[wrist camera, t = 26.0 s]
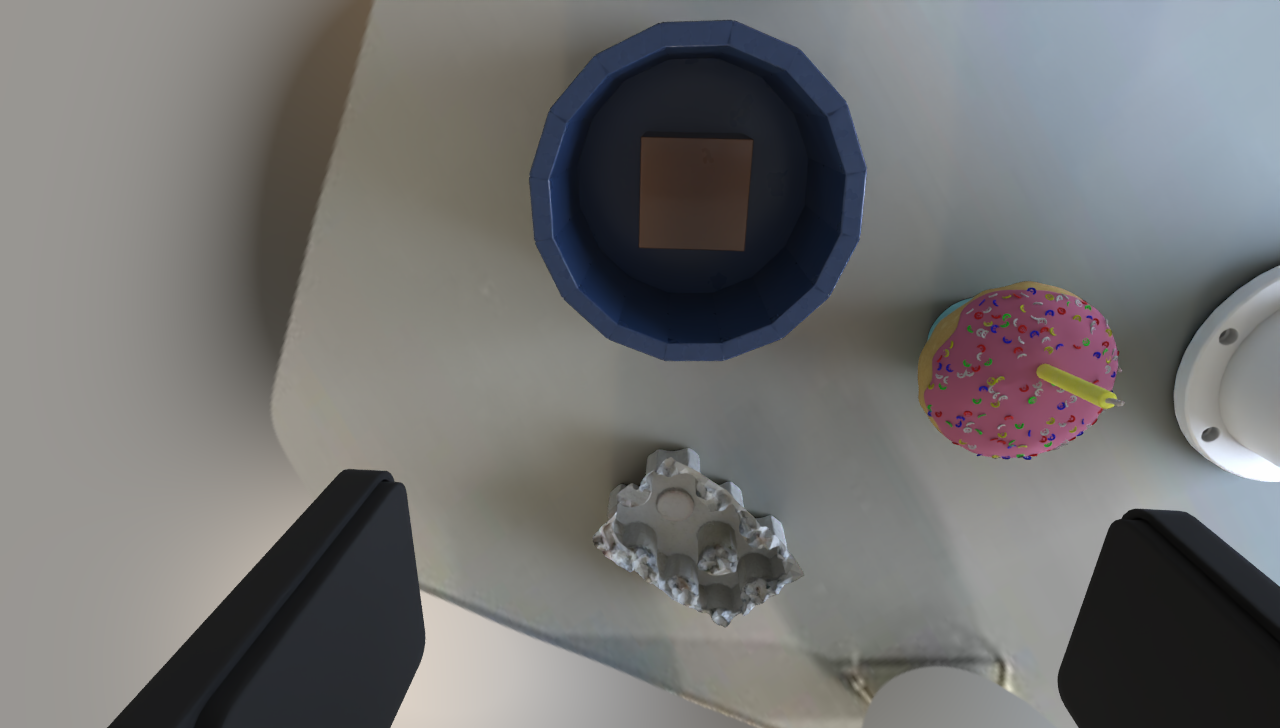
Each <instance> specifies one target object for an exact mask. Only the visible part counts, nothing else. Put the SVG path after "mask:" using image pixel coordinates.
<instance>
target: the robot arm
mask: <svg viewBox="0 0 1280 728" xmlns="http://www.w3.org/2000/svg"><path fill="white" fill-rule="evenodd" d="M1174 406H1175V415H1176V417H1177V420H1178V423H1179V426H1180V429H1181V431H1182V433H1183V434H1184V436H1185V437H1186V439H1187V440H1188V442H1189V443H1190V445H1191V446H1192V447H1193V448H1194V449H1196V450H1197V451H1198V452H1199V453H1200V454H1201V455H1202V456H1204V457H1205V458H1206V459H1208V460H1209V461H1211V462H1212V463H1214V464H1216V465H1217V466H1219V467H1220V468H1222V469H1223V470H1225V471H1228V472H1230V473H1233V474H1235V475H1238V476H1240V477H1243V478H1248V479H1253V480H1258V481H1263V482H1280V265H1279V266H1277V267H1275V268H1273V269H1271V270H1269V271H1267V272H1265V273H1263V274H1261V275H1259V276H1257V277H1256V278H1254V279H1253V280H1251V281H1250V282H1248V283H1247V284H1246V285H1244V286H1243V287H1241V288H1240V289H1238V290H1237V291H1235V292H1234V293H1233V294H1232V295H1231V296H1230V297H1229V298H1227V299H1226V300H1225V301H1224V302H1223V303H1222V304H1221V305H1220V306H1219V307H1217V308H1216V309H1215V310H1214V311H1213V313H1212V314H1211V315H1210V316H1209V317H1208V319H1207V320H1206V321H1205V322H1204V323H1203V325H1202V326H1201V327H1200V328H1199V329H1198V331H1197V332H1196V334H1195V336H1194V337H1193V339H1192V341H1191V342H1190V344H1189V346H1188V347H1187V349H1186V351H1185V353H1184V355H1183V358H1182V361H1181V363H1180V366H1179V369H1178V371H1177V375H1176V382H1175V388H1174ZM424 646H425V628H424V620H423V613H422V605H421V598H420V590H419V583H418V575H417V568H416V560H415V553H414V545H413V538H412V530H411V523H410V515H409V508H408V500H407V493H406V489H405V486H404V485H403V484H402V483H400V482H394V479H393V477H392V475H391V473H389V472H388V471H375V470H355V469H347V470H343V471H342V472H341V473H339V474H338V476H337V477H336V478H335V479H334V480H333V481H332V482H331V483H330V484H329V485H328V486H327V488H326V489H325V490H324V491H323V492H322V493H321V494H320V495H319V496H318V497H317V499H316V500H315V501H314V502H313V503H312V504H311V505H310V506H309V507H308V508H307V510H306V511H305V512H304V513H303V514H302V515H301V516H300V517H299V519H297V520H296V522H295V523H294V524H293V525H292V526H291V527H290V528H289V529H288V530H287V531H286V533H285V534H284V535H283V536H282V537H281V538H280V539H279V540H278V541H277V542H276V543H275V545H274V546H273V547H272V548H271V549H270V550H269V551H268V552H267V553H266V554H265V556H264V557H263V558H262V559H261V560H260V561H259V562H258V563H257V564H256V565H255V566H254V568H253V569H252V570H251V571H250V572H249V573H248V574H247V575H246V576H245V577H244V579H243V580H242V581H241V582H240V583H239V584H238V585H237V586H236V587H235V588H234V590H233V591H232V592H231V593H230V594H229V595H228V596H227V597H226V598H225V599H224V600H223V602H222V603H221V604H220V605H219V606H218V607H217V608H216V609H215V610H214V611H213V613H212V614H211V615H210V616H209V617H208V618H207V619H206V620H205V621H204V622H203V623H202V625H201V626H200V627H199V628H198V629H197V630H196V631H195V632H194V633H193V634H192V635H191V637H190V638H189V639H188V640H187V641H186V642H185V643H184V644H183V645H182V646H181V648H180V649H179V650H178V651H177V652H176V653H175V654H174V655H173V657H171V659H170V660H169V661H168V662H167V663H166V664H165V665H164V666H163V667H162V668H161V669H160V671H159V672H158V673H157V674H156V675H155V676H154V677H153V678H152V679H151V681H149V683H148V684H147V685H146V686H145V687H144V688H143V689H142V690H141V691H140V692H139V694H138V695H137V696H136V697H135V698H134V699H133V700H132V701H131V702H130V703H129V705H128V706H127V707H126V708H125V709H124V710H123V711H122V712H121V713H120V714H119V715H118V717H117V718H116V719H115V720H114V721H113V722H112V723H111V724H110V726H109V727H107V728H390V727H391V725H392V723H393V721H394V718H395V716H396V714H397V712H398V710H399V708H400V705H401V703H402V701H403V699H404V697H405V695H406V693H407V690H408V688H409V686H410V684H411V682H412V679H413V677H414V675H415V673H416V671H417V669H418V667H419V664H420V662H421V659H422V656H423V652H424ZM1058 689H1059V693H1060V696H1061V699H1062V701H1063V703H1064V705H1065V707H1066V708H1067V710H1068V712H1069V713H1070V715H1071V716H1072V718H1073V719H1074V721H1075V723H1076V724H1077V726H1078V727H1079V728H1280V587H1279V586H1278V585H1277V584H1276V583H1275V582H1273V581H1272V580H1271V579H1270V578H1268V577H1267V576H1266V575H1265V574H1264V573H1262V572H1261V571H1260V570H1259V569H1257V568H1256V567H1255V566H1254V565H1253V564H1251V563H1250V562H1249V561H1248V560H1246V559H1245V558H1244V557H1243V556H1242V555H1240V554H1239V553H1238V552H1237V551H1235V550H1234V549H1233V548H1232V547H1230V546H1229V545H1228V544H1227V543H1226V542H1224V541H1223V540H1222V539H1221V538H1219V537H1218V536H1217V535H1216V534H1215V533H1213V532H1212V531H1211V530H1210V529H1208V528H1207V527H1206V526H1205V525H1204V524H1202V523H1201V522H1200V521H1199V520H1197V519H1196V518H1195V517H1194V516H1192V515H1190V514H1188V513H1187V512H1182V511H1171V510H1151V509H1133V510H1129V511H1128V512H1127V513H1126V514H1124V515H1123V517H1122V519H1119V520H1116V521H1114V522H1113V523H1112V524H1111V526H1110V528H1109V529H1108V532H1107V535H1106V538H1105V541H1104V544H1103V547H1102V549H1101V552H1100V555H1099V558H1098V561H1097V564H1096V567H1095V569H1094V572H1093V575H1092V578H1091V581H1090V584H1089V586H1088V589H1087V592H1086V595H1085V598H1084V601H1083V604H1082V606H1081V609H1080V612H1079V615H1078V618H1077V621H1076V624H1075V626H1074V629H1073V632H1072V635H1071V638H1070V641H1069V644H1068V646H1067V649H1066V652H1065V655H1064V658H1063V661H1062V664H1061V666H1060V669H1059V673H1058Z"/></svg>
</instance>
